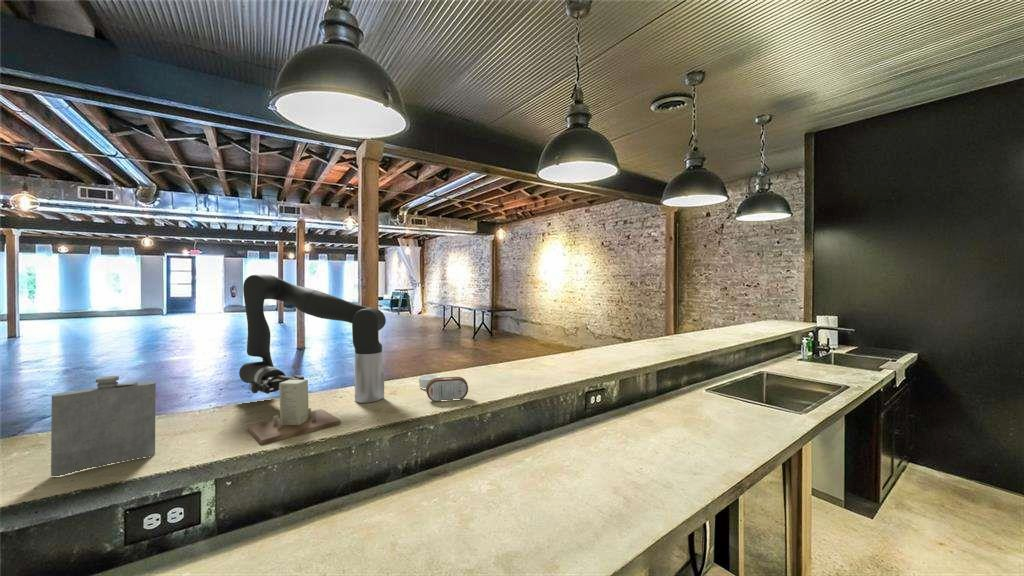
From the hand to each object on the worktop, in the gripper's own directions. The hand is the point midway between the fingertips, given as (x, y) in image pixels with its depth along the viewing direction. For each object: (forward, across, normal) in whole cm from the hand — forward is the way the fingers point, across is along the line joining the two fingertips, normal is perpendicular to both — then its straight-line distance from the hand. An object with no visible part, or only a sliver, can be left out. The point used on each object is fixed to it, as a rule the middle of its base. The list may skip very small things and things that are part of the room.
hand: (284, 387), depth 114 cm
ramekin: (+2, +52, +10) cm, 53 cm away
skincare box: (+10, 0, +9) cm, 13 cm away
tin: (+22, +46, +10) cm, 52 cm away
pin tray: (+10, 0, +10) cm, 14 cm away
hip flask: (+4, -37, +10) cm, 38 cm away
